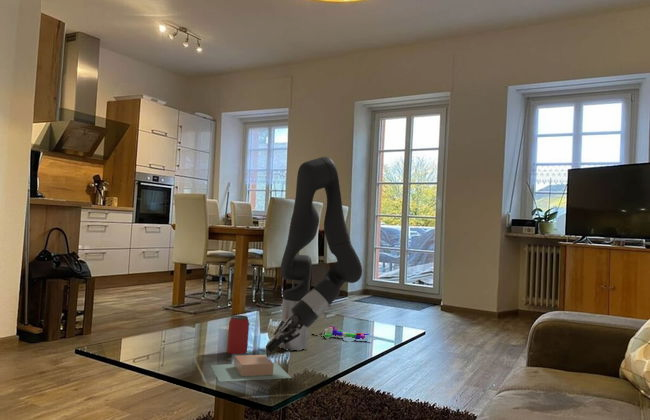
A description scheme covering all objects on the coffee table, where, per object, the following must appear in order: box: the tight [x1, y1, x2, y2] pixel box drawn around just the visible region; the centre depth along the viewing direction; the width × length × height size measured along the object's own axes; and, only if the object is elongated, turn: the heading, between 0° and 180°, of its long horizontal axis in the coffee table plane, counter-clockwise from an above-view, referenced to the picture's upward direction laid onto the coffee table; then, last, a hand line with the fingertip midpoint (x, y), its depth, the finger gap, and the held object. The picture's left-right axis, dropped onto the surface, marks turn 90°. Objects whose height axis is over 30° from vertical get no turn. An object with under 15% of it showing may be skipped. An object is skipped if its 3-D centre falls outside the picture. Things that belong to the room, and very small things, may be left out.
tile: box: [233, 354, 274, 377], centre depth 135 cm, size 3×10×9 cm
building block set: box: [323, 325, 370, 339], centre depth 195 cm, size 25×20×4 cm
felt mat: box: [209, 362, 293, 383], centre depth 134 cm, size 20×16×1 cm
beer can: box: [226, 314, 250, 355], centre depth 156 cm, size 7×7×12 cm
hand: (267, 350), depth 137 cm, fingers closed
